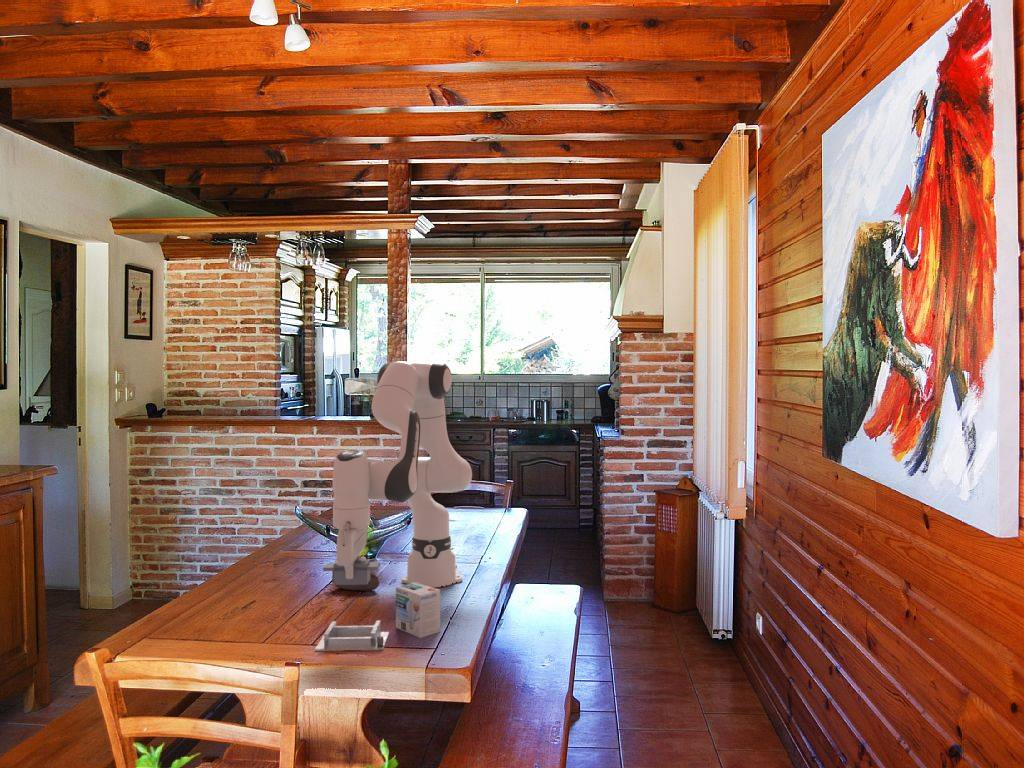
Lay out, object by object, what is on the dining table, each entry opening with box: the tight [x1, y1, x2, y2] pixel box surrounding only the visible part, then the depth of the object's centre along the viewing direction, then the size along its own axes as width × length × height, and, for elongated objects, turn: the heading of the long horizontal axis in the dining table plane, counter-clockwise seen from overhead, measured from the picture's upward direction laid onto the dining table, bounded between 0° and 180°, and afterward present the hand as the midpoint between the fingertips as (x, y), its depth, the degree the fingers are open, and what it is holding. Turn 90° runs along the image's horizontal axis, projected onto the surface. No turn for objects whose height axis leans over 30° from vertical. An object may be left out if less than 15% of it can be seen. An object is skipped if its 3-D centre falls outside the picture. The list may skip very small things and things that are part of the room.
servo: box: [322, 556, 381, 586], centre depth 184 cm, size 4×13×6 cm, turn 91°
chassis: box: [314, 620, 390, 652], centre depth 185 cm, size 11×16×4 cm
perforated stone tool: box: [331, 570, 380, 592], centre depth 228 cm, size 15×5×7 cm, turn 70°
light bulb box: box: [395, 582, 441, 639], centre depth 193 cm, size 11×7×11 cm, turn 45°
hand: (352, 574), depth 184 cm, fingers closed on servo, 4 cm apart
